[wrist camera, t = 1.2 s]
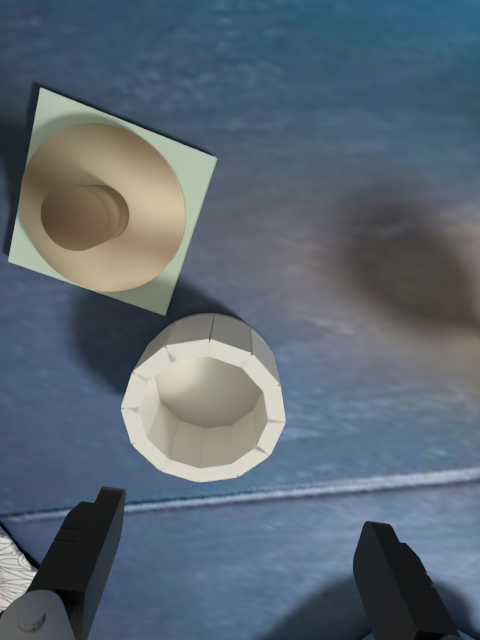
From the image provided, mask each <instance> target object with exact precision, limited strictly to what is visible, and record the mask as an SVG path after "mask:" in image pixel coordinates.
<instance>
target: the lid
mask: <svg viewBox="0 0 480 640" xmlns="http://www.w3.org/2000/svg"><path fill="white" fill-rule="evenodd" d="M20 206H21V213H22V218H23V222H24V225H25V228H26V231H27V233H28V236H29V238H30V240H31V242H32V243H33V245H34V247H35V248H36V250H37V251H38V253H39V254H40V256H41V257H42V258H43V259H44V260H45V261H46V262H47V264H48V265H49V266H51V267H52V268H53V269H54V270H55V271H56V272H57V273H59V274H60V275H62V276H63V277H64V278H66V279H68V280H70V281H72V282H73V283H75V284H78V285H80V286H83V287H86V288H89V289H93V290H98V291H109V292H115V291H124V290H129V289H133V288H136V287H138V286H141V285H143V284H145V283H147V282H149V281H150V280H152V279H153V278H155V277H156V276H157V275H159V274H160V273H161V272H162V271H163V270H164V269H165V268H166V267H167V265H168V264H169V263H170V262H171V260H172V259H173V258H174V256H175V255H176V253H177V251H178V249H179V247H180V244H181V242H182V239H183V235H184V231H185V225H186V205H185V198H184V194H183V191H182V187H181V185H180V182H179V180H178V177H177V176H176V174H175V172H174V170H173V168H172V167H171V165H170V164H169V163H168V161H167V160H166V158H165V157H164V156H163V155H162V154H161V153H160V152H159V151H158V150H157V149H156V148H155V147H154V146H152V145H151V144H150V143H149V142H147V141H146V140H144V139H143V138H141V137H140V136H138V135H136V134H133V133H131V132H129V131H127V130H125V129H122V128H119V127H116V126H113V125H108V124H102V123H85V124H78V125H74V126H70V127H67V128H65V129H63V130H60V131H58V132H57V133H55V134H53V135H52V136H50V137H49V138H48V139H47V140H45V141H44V142H43V143H42V144H41V145H40V146H39V147H38V149H37V150H36V151H35V152H34V154H33V155H32V157H31V159H30V160H29V162H28V164H27V167H26V169H25V171H24V175H23V179H22V183H21V191H20Z"/></svg>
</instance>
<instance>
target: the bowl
mask: <svg viewBox="0 0 480 640" xmlns="http://www.w3.org/2000/svg"><path fill="white" fill-rule="evenodd" d="M121 411H122V415H123V418H124V421H125V425H126V428H127V431H128V434H129V438H130V441H131V444H132V443H133V446H134V447H135V448H136V449H137V450H138V451H139V452H140V453H141V454H142V455H143V456H145V457H146V458H147V459H148V460H149V461H150V462H151V463H152V464H153V465H154V466H155V467H156V468H157V469H159V470H161V469H162V470H161V471H162V472H165V473H168V474H172V475H175V476H178V477H182V478H185V479H188V480H192V481H195V482H198V481H199V482H207V481H214V480H221V479H229V478H236V477H237V475H238V476H241V475H242V474H244V473H245V472H247V471H248V470H250V469H251V468H253V467H254V466H256V465H257V464H259V463H260V462H261V461H263V460H264V459H266V458H267V457H269V455H271V453H272V451H273V449H274V446H275V444H276V442H277V440H278V438H279V436H280V434H281V432H282V430H283V427H284V425H285V421H286V419H285V412H284V406H283V399H282V393H281V386H280V381H279V376H278V371H277V366H276V361H275V356H274V354H273V352H272V351H271V349H270V348H269V346H268V344H267V342H266V341H265V340H264V338H263V337H262V336H261V335H260V334H259V333H258V332H257V331H256V330H255V329H254V328H252V327H251V326H250V325H248V324H247V323H245V322H243V321H241V320H239V319H237V318H234V317H232V316H228V315H225V314H219V313H198V314H193V315H188V316H185V317H183V318H180V319H178V320H176V321H174V322H172V323H171V324H169V325H168V326H167V327H165V328H164V329H163V330H162V331H161V332H160V333H159V334H158V335H157V336H156V337H155V339H153V340H152V341H151V342H150V343H149V344H148V346H147V348H146V349H145V351H144V353H143V355H142V356H141V358H140V360H139V361H138V363H137V365H136V367H135V368H134V370H133V372H132V374H131V377H130V380H129V384H128V387H127V390H126V393H125V396H124V399H123V403H122V406H121Z"/></svg>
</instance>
